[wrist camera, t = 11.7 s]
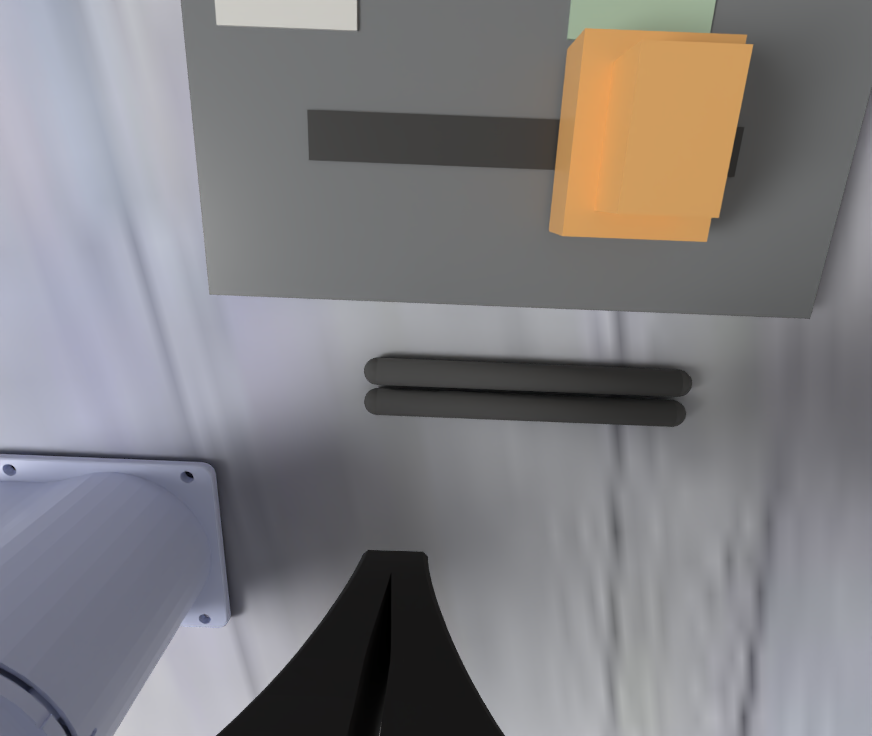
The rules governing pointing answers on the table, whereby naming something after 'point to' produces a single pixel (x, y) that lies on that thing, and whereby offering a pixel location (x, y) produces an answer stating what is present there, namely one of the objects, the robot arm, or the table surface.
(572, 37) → the breaker panel
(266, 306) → the table surface
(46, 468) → the robot arm
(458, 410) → the cord bundle
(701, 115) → the breaker toggle
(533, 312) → the table surface
